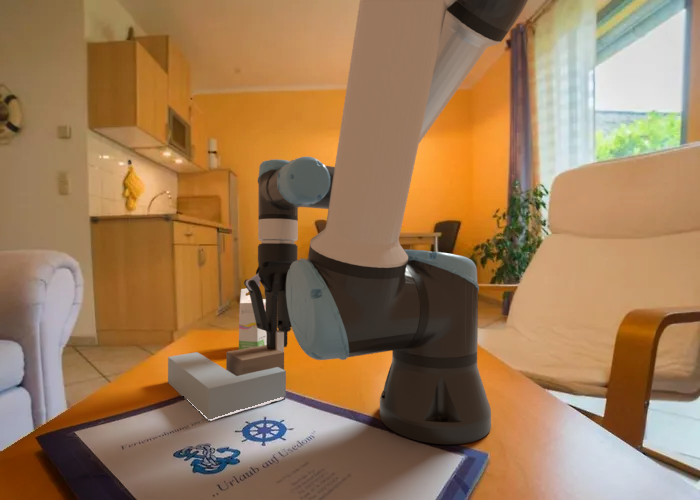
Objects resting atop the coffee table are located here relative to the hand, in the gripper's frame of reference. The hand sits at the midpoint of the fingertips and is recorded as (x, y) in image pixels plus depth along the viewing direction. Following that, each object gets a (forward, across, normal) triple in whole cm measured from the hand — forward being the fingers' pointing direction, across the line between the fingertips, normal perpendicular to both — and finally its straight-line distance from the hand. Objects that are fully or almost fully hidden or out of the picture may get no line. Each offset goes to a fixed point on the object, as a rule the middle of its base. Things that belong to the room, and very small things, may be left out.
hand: (276, 364), depth 70 cm
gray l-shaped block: (+2, +11, +2) cm, 12 cm away
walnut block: (+2, +5, 0) cm, 5 cm away
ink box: (+2, -5, -19) cm, 20 cm away
